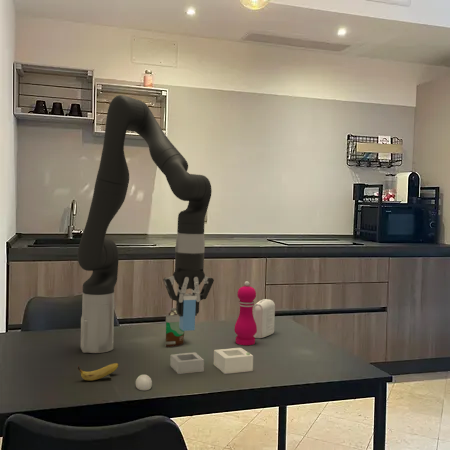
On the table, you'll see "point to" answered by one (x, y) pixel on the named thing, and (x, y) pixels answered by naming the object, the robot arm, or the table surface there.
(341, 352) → the table surface
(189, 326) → the plug
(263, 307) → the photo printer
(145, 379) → the egg
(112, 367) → the banana
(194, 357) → the box
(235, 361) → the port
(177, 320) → the food container
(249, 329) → the pepper mill
